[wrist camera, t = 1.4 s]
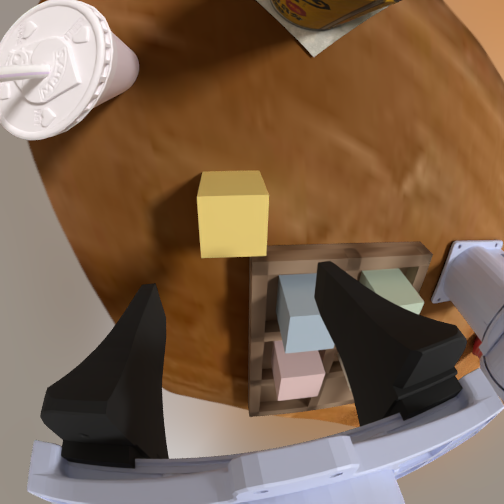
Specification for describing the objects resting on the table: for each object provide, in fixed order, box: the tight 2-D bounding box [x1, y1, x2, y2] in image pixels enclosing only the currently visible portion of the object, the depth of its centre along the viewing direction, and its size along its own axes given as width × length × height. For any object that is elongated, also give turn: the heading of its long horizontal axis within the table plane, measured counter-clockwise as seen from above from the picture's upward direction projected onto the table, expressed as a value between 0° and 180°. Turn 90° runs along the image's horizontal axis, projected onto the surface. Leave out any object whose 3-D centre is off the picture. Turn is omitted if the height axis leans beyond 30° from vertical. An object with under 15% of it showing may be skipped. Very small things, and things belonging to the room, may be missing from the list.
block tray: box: [248, 242, 433, 417], centre depth 30 cm, size 16×24×2 cm
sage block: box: [359, 268, 424, 314], centre depth 24 cm, size 4×4×5 cm
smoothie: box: [0, 0, 139, 140], centre depth 10 cm, size 6×6×14 cm
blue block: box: [276, 273, 334, 353], centre depth 24 cm, size 4×4×5 cm
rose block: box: [271, 340, 325, 401], centre depth 28 cm, size 4×4×5 cm
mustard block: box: [197, 171, 269, 258], centre depth 20 cm, size 4×4×5 cm
